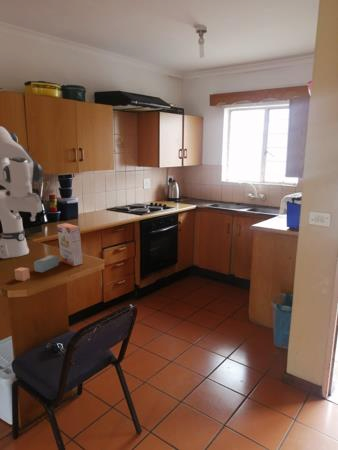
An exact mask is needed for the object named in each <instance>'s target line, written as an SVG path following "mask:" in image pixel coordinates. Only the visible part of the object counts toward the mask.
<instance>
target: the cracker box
mask: <svg viewBox="0 0 338 450" xmlns="http://www.w3.org/2000/svg"><path fill="white" fill-rule="evenodd" d="M56 228H57V229H56V230H57V237H58V238H57V239H58V245H59V252H60V253H59V254H60V261H61V262H62V263H65V264H66V265H69V266H71V267H77V266H81V265H83V264H84V262H83V261H84V259H83V249H82V241H81V239H82V238H81V231H80V229H81V228H80V226H78V225H75V224H71V223H67V222H65V223H60V224H56Z"/></svg>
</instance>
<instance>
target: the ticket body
mask: <svg viewBox="0 0 338 450" xmlns="http://www.w3.org/2000/svg"><path fill="white" fill-rule="evenodd" d="M33 265H34V272H38V273H44V272H46V271H48V270H51V269H53V268H56V267H57V266H59V265H60V263H59V255H52V254H51V255H47V256H45V257H43V258H40V259H37V260H35V261H34V262H33Z"/></svg>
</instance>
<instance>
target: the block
mask: <svg viewBox="0 0 338 450" xmlns="http://www.w3.org/2000/svg"><path fill="white" fill-rule="evenodd" d="M14 277H15V278H14V279H15V280H16V281H20V282H21V281H22V282H25V281H27V280H29V279H30V278H31V274H30V268H29V267H23V266H21V267H17V268H15V269H14Z"/></svg>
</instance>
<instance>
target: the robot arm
mask: <svg viewBox="0 0 338 450" xmlns="http://www.w3.org/2000/svg"><path fill="white" fill-rule="evenodd" d="M43 170H44V169H43V168H42V166H41V165H40V164H39V163H38V162H37V161H36V160H35V159H34V157H33V156H32V155H31V154H30V152H29V151H28V150H27V149H26V148H25V147H24V146H23V145H21V144H19V140H18V136H17V135H16V133H15V132H14V131H10V130H7V128H5V127H4V126H2V125H1V126H0V186H2V187H4V188H5V189H0V223H1V227H2V232H1V233H0V236H1V238H0V259H10V258H17V257H18V258H19V257H23V256H25V255H28V254H29V253H30V249H29V246H28V242H27V239H26V237H25V235H26V233H25V229H24V226H23V218H22V217H21V216H22V215H20V213H19V212H24V213H25V212H26V213H30V214H31V217H29V219H30V222H35V221H36V216H37V213H42V211H43V205H42V201H41V200H42V199H41V198H40V195H39V194H38V193H37V192H33V187H32V185H33V184H34V183H35V184H38V183H39V182H41V181H42V180H43V178H44V171H43ZM11 211H12V212H11Z"/></svg>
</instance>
